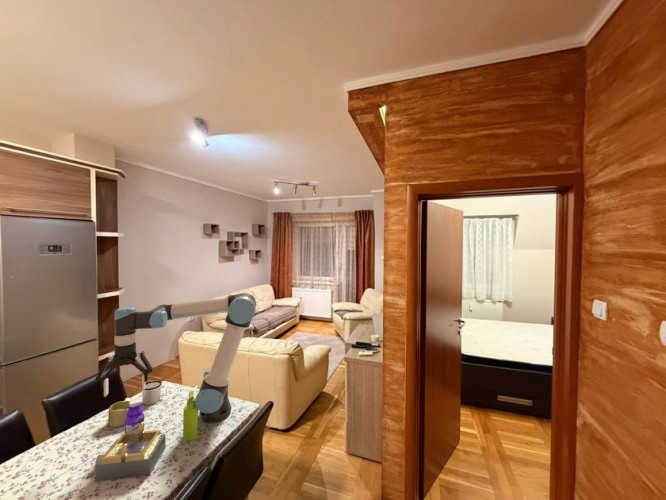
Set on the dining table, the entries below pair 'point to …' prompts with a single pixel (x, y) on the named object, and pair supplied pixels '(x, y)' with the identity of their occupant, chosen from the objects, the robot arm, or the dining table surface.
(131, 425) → the bottle
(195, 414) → the soap dispenser
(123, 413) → the mug
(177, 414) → the dining table surface
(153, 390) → the mug
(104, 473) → the grey and tan box
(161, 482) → the dining table surface
